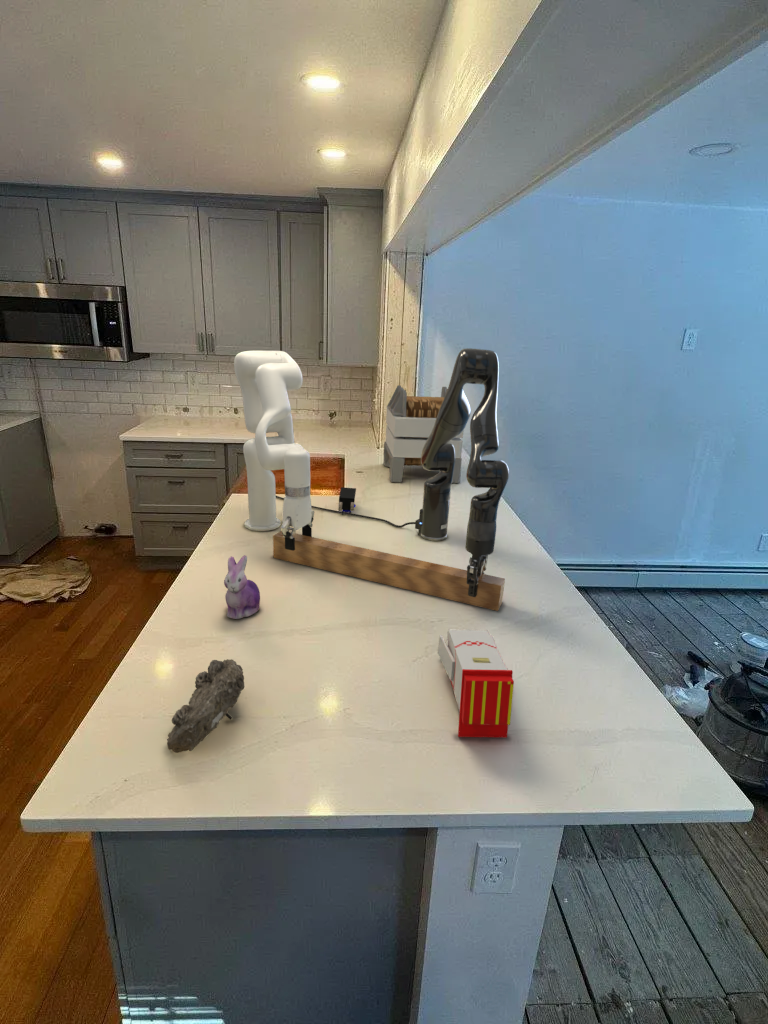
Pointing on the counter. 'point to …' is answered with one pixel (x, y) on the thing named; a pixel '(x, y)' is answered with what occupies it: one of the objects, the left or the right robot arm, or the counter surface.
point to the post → (391, 570)
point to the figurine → (240, 591)
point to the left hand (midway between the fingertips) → (298, 544)
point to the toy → (478, 682)
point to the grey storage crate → (413, 432)
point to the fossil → (206, 705)
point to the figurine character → (347, 500)
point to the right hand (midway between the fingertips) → (474, 591)
